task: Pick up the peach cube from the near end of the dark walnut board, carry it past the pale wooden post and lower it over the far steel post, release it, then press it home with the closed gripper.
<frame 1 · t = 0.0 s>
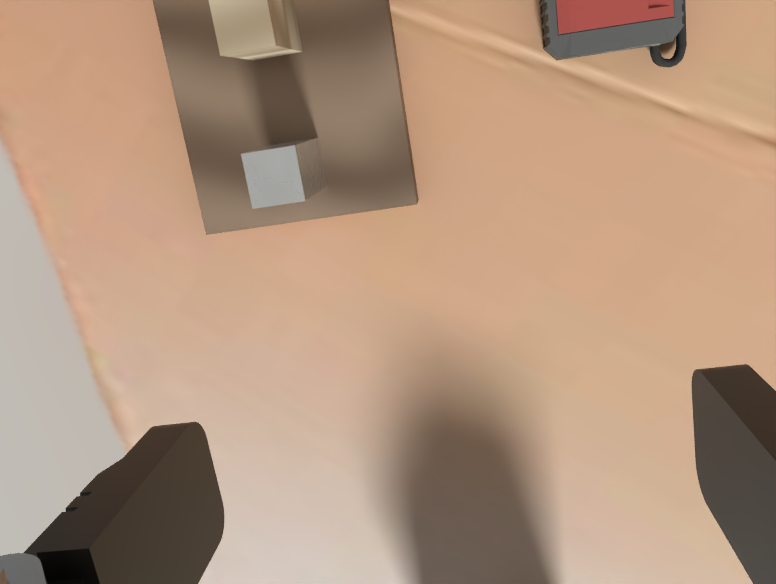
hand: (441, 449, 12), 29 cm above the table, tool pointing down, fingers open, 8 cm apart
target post: (304, 162, 40), resting on board
board: (278, 22, 38), on the table
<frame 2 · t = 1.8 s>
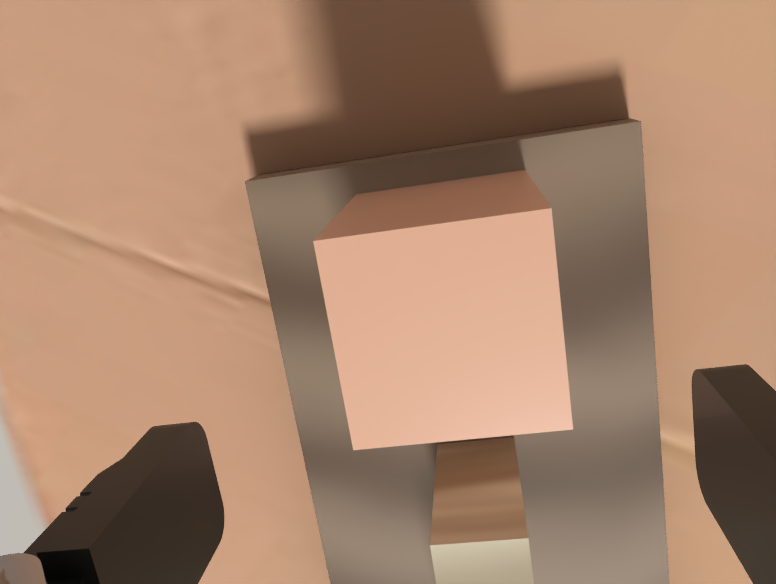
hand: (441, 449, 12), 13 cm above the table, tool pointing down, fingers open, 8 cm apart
board: (477, 440, 26), on the table
peach cube: (450, 264, 22), point 1 cm above the table, touching board
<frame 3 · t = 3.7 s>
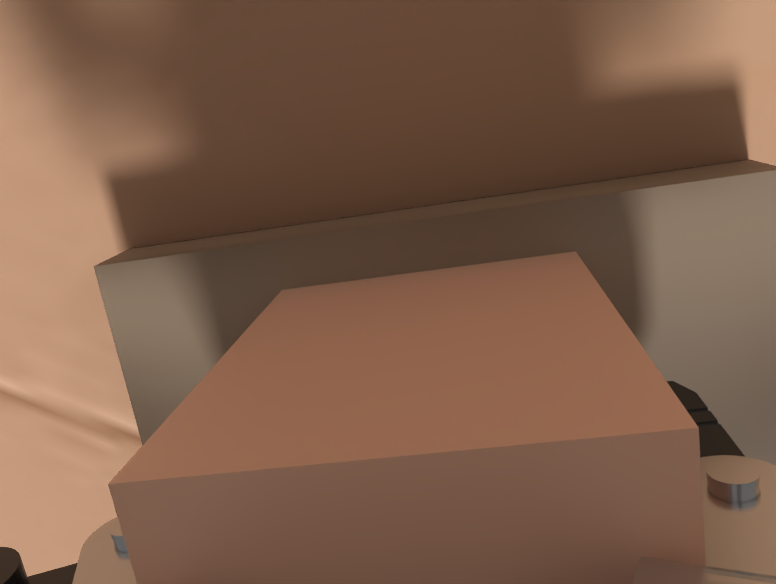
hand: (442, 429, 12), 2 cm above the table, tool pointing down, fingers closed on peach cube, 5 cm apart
peach cube: (445, 406, 13), point 2 cm above the table, touching board, gripper
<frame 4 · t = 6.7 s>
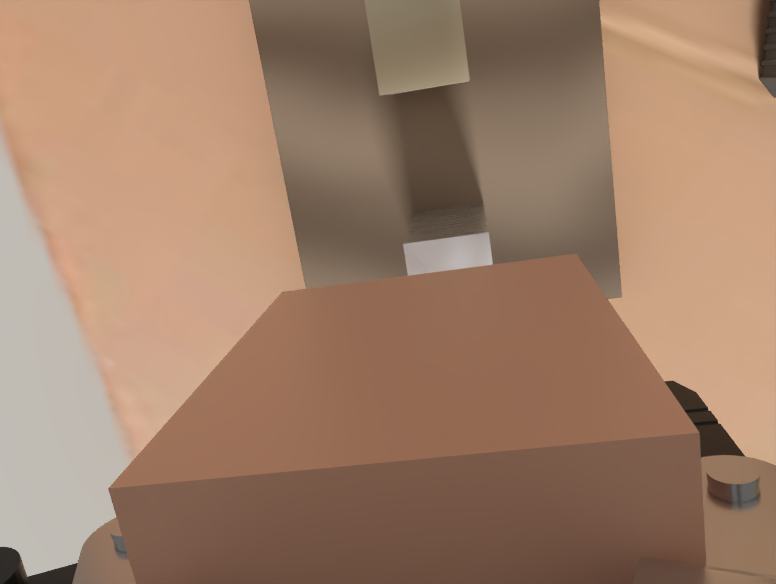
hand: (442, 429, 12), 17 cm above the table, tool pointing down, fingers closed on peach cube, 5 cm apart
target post: (453, 234, 28), resting on board
board: (426, 37, 27), on the table
peach cube: (445, 408, 13), point 16 cm above the table, touching gripper
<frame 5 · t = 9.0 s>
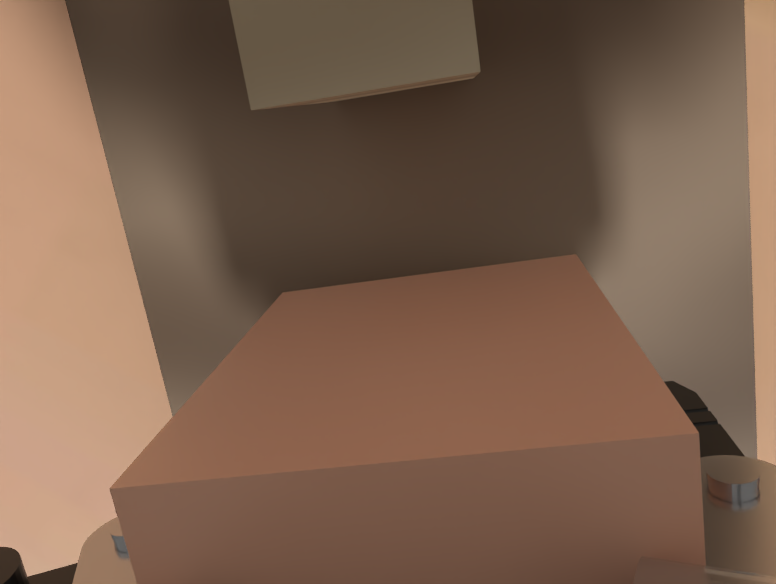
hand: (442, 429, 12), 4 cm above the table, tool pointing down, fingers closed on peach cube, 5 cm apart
peach cube: (445, 408, 13), point 3 cm above the table, touching gripper
when the fingers open (4 cm above the table, at t = 9.7 s): peach cube drops 1 cm, resting on board.
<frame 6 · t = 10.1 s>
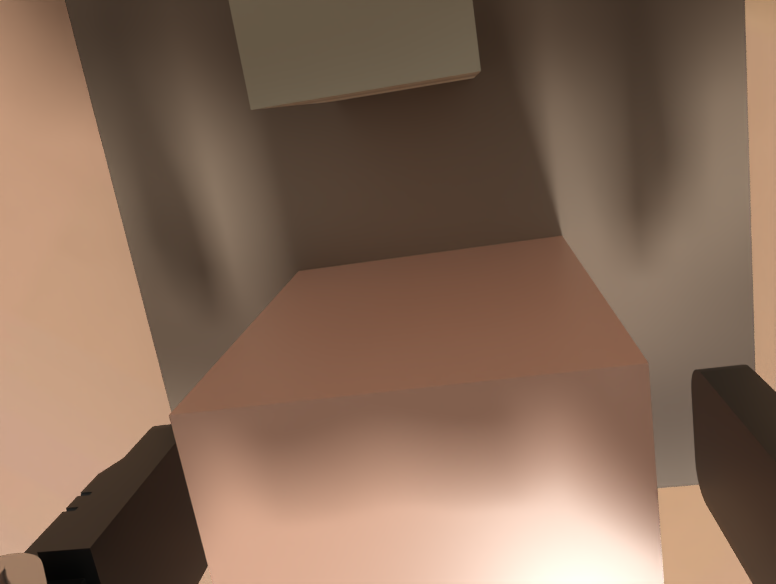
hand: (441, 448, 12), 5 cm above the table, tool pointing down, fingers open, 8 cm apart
peach cube: (445, 376, 15), point 1 cm above the table, touching board
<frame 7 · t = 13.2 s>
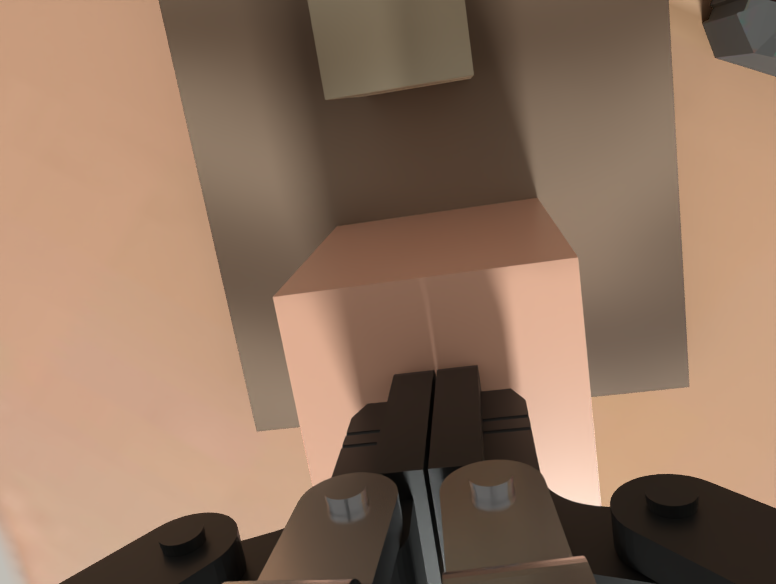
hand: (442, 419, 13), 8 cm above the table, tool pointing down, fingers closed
board: (410, 16, 18), on the table
peach cube: (448, 308, 19), point 1 cm above the table, touching board, gripper
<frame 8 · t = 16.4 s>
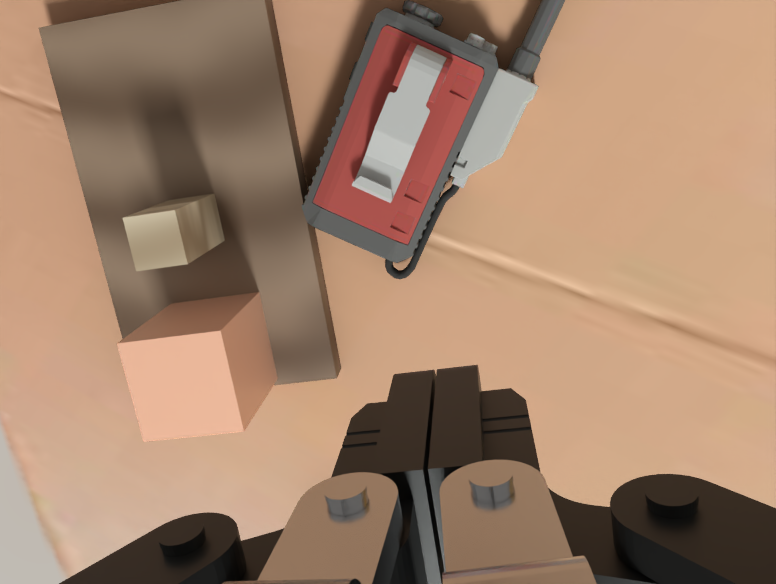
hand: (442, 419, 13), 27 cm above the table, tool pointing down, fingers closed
walkie-talkie: (441, 89, 38), on the table
board: (204, 207, 40), on the table
peach cube: (224, 341, 41), point 1 cm above the table, touching board
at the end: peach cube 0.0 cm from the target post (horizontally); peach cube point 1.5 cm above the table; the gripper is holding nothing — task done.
